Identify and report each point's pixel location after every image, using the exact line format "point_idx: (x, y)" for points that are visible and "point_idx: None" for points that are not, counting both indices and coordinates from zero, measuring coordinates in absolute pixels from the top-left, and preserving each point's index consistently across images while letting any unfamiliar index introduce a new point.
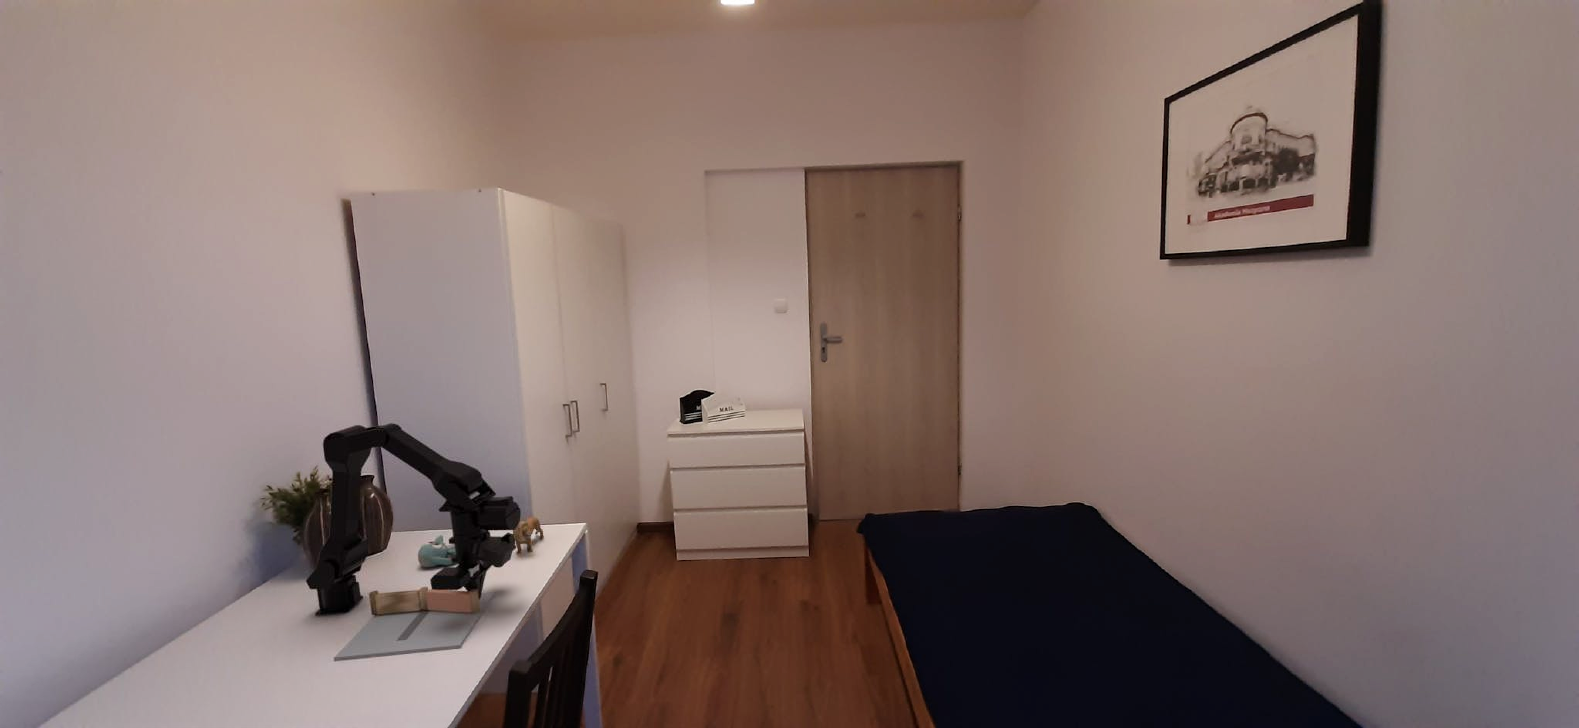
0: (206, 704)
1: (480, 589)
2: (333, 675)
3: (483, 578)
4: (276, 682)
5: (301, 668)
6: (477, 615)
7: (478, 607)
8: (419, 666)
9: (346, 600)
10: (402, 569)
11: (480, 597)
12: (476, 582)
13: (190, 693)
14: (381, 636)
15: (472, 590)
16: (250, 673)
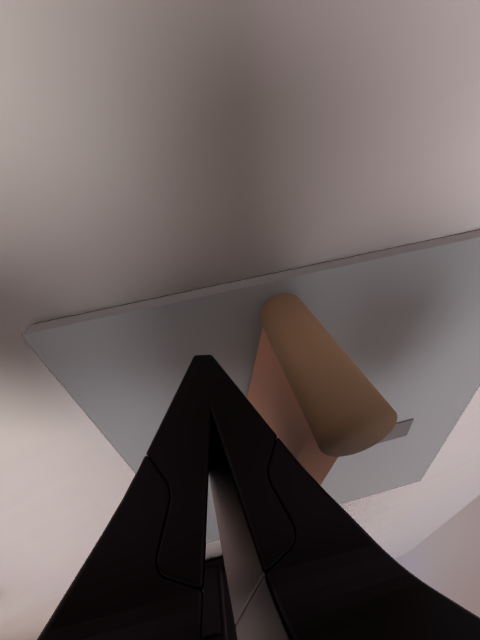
0: (452, 507)
1: (208, 405)
2: (472, 445)
3: (154, 520)
4: (442, 489)
5: (415, 490)
6: (313, 283)
7: (299, 306)
8: None
9: (223, 589)
10: (14, 608)
11: (196, 358)
12: (339, 520)
13: (415, 528)
14: (367, 469)
15: (348, 442)
16: (396, 520)
